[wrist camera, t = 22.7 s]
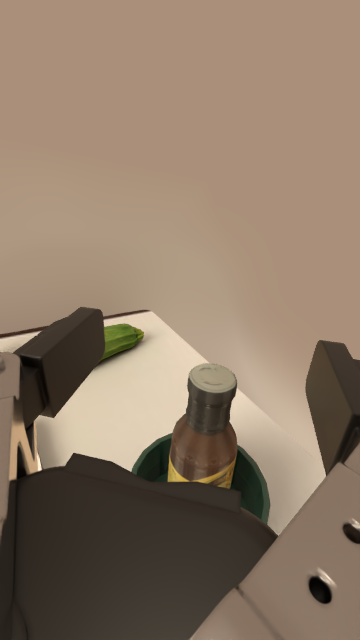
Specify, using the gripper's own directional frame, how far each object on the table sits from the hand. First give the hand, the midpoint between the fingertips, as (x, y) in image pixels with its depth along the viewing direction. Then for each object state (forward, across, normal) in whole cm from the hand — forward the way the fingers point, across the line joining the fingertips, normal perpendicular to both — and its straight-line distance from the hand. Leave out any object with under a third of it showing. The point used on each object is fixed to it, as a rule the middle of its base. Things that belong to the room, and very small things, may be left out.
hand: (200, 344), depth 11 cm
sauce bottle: (+10, 0, +29) cm, 31 cm away
